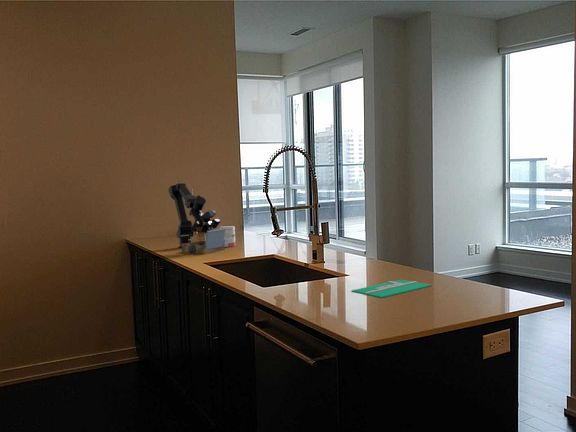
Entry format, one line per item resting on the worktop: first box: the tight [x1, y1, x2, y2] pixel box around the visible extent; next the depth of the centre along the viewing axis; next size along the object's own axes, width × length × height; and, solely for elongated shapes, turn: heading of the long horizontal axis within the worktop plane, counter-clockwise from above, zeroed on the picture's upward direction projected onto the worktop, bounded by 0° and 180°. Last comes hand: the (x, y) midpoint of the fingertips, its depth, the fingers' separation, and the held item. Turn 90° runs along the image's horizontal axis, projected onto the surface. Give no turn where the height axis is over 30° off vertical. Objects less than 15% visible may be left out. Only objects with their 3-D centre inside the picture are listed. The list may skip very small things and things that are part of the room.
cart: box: [180, 240, 225, 255], centre depth 333 cm, size 18×19×4 cm
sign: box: [351, 279, 432, 299], centre depth 217 cm, size 27×1×15 cm
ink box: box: [218, 225, 236, 248], centre depth 349 cm, size 9×5×12 cm, turn 84°
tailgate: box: [205, 228, 225, 250], centre depth 327 cm, size 1×14×10 cm, turn 145°
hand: (214, 235), depth 327 cm, fingers closed, pressing on tailgate
